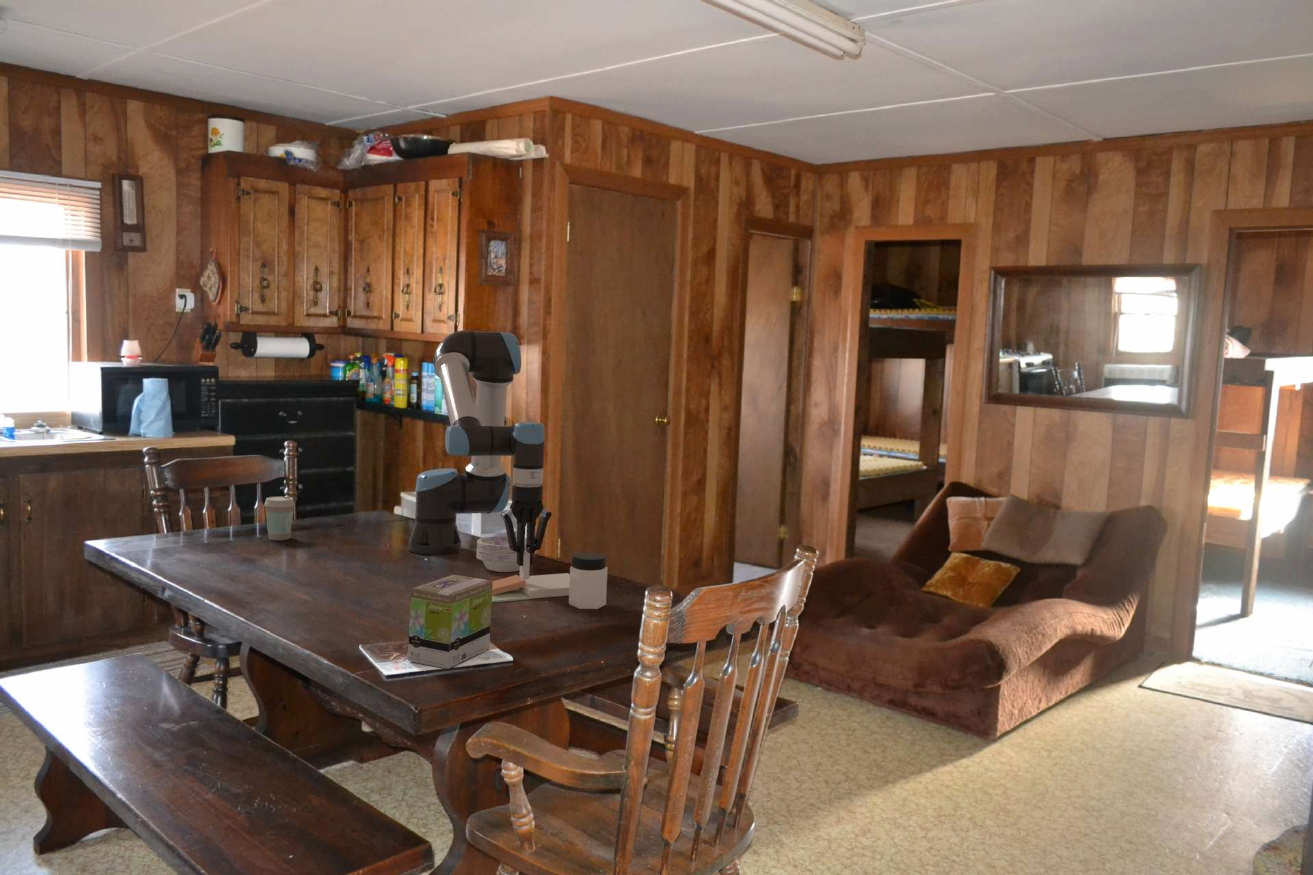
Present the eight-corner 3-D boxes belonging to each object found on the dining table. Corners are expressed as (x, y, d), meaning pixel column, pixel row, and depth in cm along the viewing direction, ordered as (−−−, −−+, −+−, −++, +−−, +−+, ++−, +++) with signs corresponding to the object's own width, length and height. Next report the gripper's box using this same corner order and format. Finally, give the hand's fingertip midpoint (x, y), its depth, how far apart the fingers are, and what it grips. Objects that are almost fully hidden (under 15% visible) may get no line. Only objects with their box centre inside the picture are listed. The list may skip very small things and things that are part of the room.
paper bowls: (515, 560, 292) (516, 532, 291) (542, 572, 280) (543, 543, 279) (466, 565, 283) (467, 537, 282) (492, 577, 270) (493, 547, 270)
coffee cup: (288, 542, 301) (288, 501, 300) (259, 540, 301) (259, 500, 300) (298, 536, 309) (299, 496, 308) (270, 535, 309) (270, 495, 308)
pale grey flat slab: (509, 585, 263) (509, 577, 263) (567, 580, 271) (567, 573, 271) (529, 598, 251) (530, 590, 251) (589, 593, 259) (589, 585, 259)
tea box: (450, 670, 197) (452, 594, 195) (406, 662, 200) (408, 587, 199) (491, 649, 211) (493, 578, 209) (449, 642, 214) (451, 572, 213)
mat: (450, 589, 257) (450, 587, 256) (507, 584, 264) (507, 583, 264) (469, 604, 243) (469, 602, 243) (529, 599, 251) (529, 597, 251)
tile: (483, 589, 256) (482, 584, 256) (517, 580, 260) (516, 574, 260) (492, 595, 251) (491, 589, 250) (526, 586, 255) (525, 580, 255)
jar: (580, 598, 254) (582, 550, 253) (610, 603, 251) (612, 554, 250) (563, 606, 246) (565, 557, 244) (594, 611, 243) (596, 561, 241)
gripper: (508, 487, 249) (504, 583, 251) (557, 486, 255) (554, 579, 257) (497, 483, 255) (494, 576, 258) (546, 481, 262) (542, 572, 264)
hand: (524, 578), depth 258 cm, fingers closed
